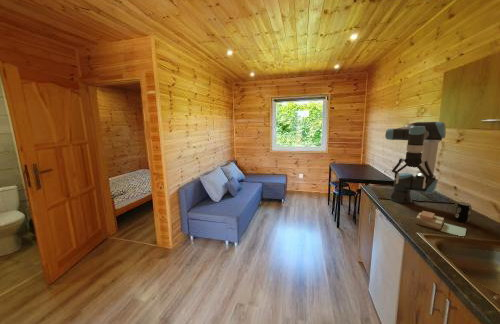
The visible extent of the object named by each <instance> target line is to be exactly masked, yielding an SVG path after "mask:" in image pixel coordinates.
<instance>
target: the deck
mask: <svg viewBox="0 0 500 324" xmlns="http://www.w3.org/2000/svg"><path fill="white" fill-rule="evenodd" d="M421 213H422V211H421V212H419V213H418V214H417V216H416V217H415V222H414V223H415V224H417V225H420V226H424V227H427V228H431V229H435V230H439V231H441V229H442V227H443V225H444V220H445V218H444V217H442V216H438V215H434V218H433V219H432V221H431V220H427V219H423V218H420V214H421Z"/></svg>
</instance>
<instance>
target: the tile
mask: <svg viewBox="0 0 500 324" xmlns="http://www.w3.org/2000/svg"><path fill="white" fill-rule="evenodd" d="M421 212H422V213H421V214H420V218H423V219H427V220H431V221H432V219H433V218H434V216H436V214H435V212H434V213H433V212H432V211H431V212H430V211H425V210H422V211H421Z"/></svg>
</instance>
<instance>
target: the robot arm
mask: <svg viewBox="0 0 500 324" xmlns="http://www.w3.org/2000/svg"><path fill="white" fill-rule="evenodd" d="M446 133H447V131H446V123H445V122H443V121H419V122H418V121H416V122H411V123H408V124H405V125H403V126H402V127H397V128H387V129H386V131H385V135H384V136H385V137H384V138H385V139H386V140H390V141H394V140H395V141H407V144H406V145H407V146H406V153H405V159H404V158H402V157H401V158H399V160H398V162H397V164H396V165H395V166H394V167H393V168H392V169H391V172H392V173H394V179H393V188H392V189H393V190H392V192H391V194H390V195H389V200H390V201H393V202H395V203H399V204H404V205H405V204H406V205H407V204H413V203H412V202H413V198H412V194H411V191H412V192H414V191H415V192H419V193H424V194H430V195H431V194H434V192H435V190H436V189H437V185H438V184H439V183H438V182H439V179H437V178H436V175H435V168H436V161H437V153H438V148H439V143H440V142H442V141H443V139H445V138H446ZM402 163H404V165H402V166H401V167H400V168H399V166H400V165H401V164H402ZM406 167H408V168H417V169H418V172H417V173H416V174H415V175H414V174H413V173H410V172H401V171H402V170H404V169H405V168H406ZM398 168H399V169H398Z"/></svg>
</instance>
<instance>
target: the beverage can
mask: <svg viewBox="0 0 500 324" xmlns="http://www.w3.org/2000/svg"><path fill="white" fill-rule="evenodd" d="M471 211H472V204H471V203H468V202H465V201H458V203H457V205H456V209H455V214H454V219H455V221H458V222H460V223H466V224H467V223H468V222H469V221H470V217H471V213H472V212H471Z"/></svg>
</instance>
